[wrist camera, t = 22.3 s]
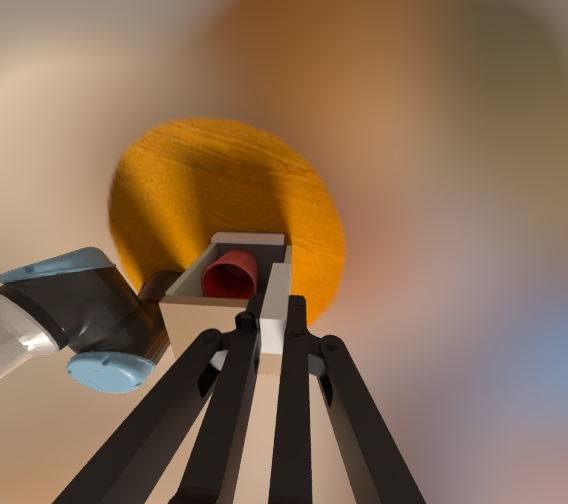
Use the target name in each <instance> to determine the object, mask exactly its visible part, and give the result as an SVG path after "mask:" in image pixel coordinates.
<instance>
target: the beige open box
mask: <svg viewBox="0 0 568 504" xmlns="http://www.w3.org/2000/svg"><path fill="white" fill-rule="evenodd" d="M219 258H220V256H219V248H218V243H211V244H210V245H209V246H208V248H207V249H206V250H205V251H204V252H203V253H202V254H201V255H200V256H199V257H198V258H197V259H196V260H195V261H194V262H193V263H192V265H191V266H190V267H189V268H188V269H187V270H186V271H185V272H184V273H183V274H182V275H181V276H180V277H179V278H178V279H177V280H176V282H175V283H174V284H173V285H172V286H171V287H170V288H169V289H168V290H167V291H166V292H165V294H166V296H165V297H164V298H163V299H162V300H161V301H160V302H159V306H160V309H161V312H162V316H163V319H164V322H165V326H166V329H167V332H168V336H169V339H170V342H171V346H172V349H173V352H174V356H175V359H176V360H177V359H178V358H179V357H180V356H181V355H182V354H183V352H184V351H185V350H186V349H187V348H188V347H189V346H190V344H191V343H192V342H193V341H194V340H195V339H196V337H197V336H198V335H199V334H200V333H201V332H202V331H204V330H206V329H210V328H216V329H218V330H220V332H221V333H225V332H230V331H233V330H235V329H236V325H235V316H236V315H237V314H238V313H240V312H242V311H245V310H246V308H247V304H248V302H249V300H245V299H226V298H207V297H206V296H205V294H204V292H203V290H202V286H201V279H202V275H203V273H204V272H205V270H206V269H207V268H208V267H209V266H210V265H211V264H213V263H214V262H215V261H217V260H218V259H219ZM284 263H288V264H291V271H292V245H287V247H286V253H285V260H284ZM290 295H291V291H290ZM281 363H282V354H271V353H261V351H260V364H259V369H258V374H272V375H280V374H281Z"/></svg>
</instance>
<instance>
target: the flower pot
mask: <svg viewBox="0 0 568 504" xmlns="http://www.w3.org/2000/svg"><path fill="white" fill-rule="evenodd" d="M201 286H202V290H203V292H204V294H205V296H206V297H207V298H226V299H245V300H249V299H250V297H251V296H252V295H253V294H256V291H257V261H256V259H255V257H254V255H253V254H252V253H250V252H249V251H247V250H245V249H233V250H231V251H229V252H227V253H226V254H224V255H223V256H222V257H220V258H219V259H218V260H217V261H215V262H214V263H213V264H211V265H210V266H209V267H208V268H207V269H206V270H205V272H204V273H203V275H202V279H201Z"/></svg>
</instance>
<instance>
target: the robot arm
mask: <svg viewBox="0 0 568 504" xmlns="http://www.w3.org/2000/svg"><path fill="white" fill-rule="evenodd" d="M181 275H182V274H181V273H178V272H174V271H160V272H157V273H155V274H153V275H152V276H151V277H150V278H148V279H147V280H146V281H145V282H144V284H143V285H142V287H141V290H140V292H139V293H138V295H136V294H135V292H134V291H133V290H132V288H131V287H130V286H129V284H128V283H127V282H126V280H125V279H124V277H123V276H122V275H121V273H120V272H119V271H118V269H117V268H116V265H115V264H114V263H112V262H111V261H110V260H109V258H108V257H107V256H106V255H105V254H104V252H103V251H101V250H100V249H98V248H95V247H86V248H82V249H79V250H76V251H73V252H69V253H66V254H63V255H60V256H57V257H53V258H50V259H47V260H43V261H40V262H37V263H34V264H31V265H28V266H24V267H21V268H18V269H15V270H11V271H8V272H5V273H2V274H0V283H2V284H4V285H2V286H1V287H0V378H2V377H4V376H5V375H6V374H8V373H9V372H11V371H12V370H14V369H15V368H17V367H18V366H19V365H21V364H22V363H24V362H25V361H26V360H28V359H29V358H31V357H34V356H38V355H46V354H47V355H48V354H55V353H57V352H59V351H60V350H61V349H63V348H64V347H65V346H67V345H68V346H69V347H70V348H71V349H72V350H73V351H74V352H75V353H76V355H75V356H73V357H72V358H71V359H70V361H69V363H68V365H67V369H68V373H69V375H70V376H71V377H72V378H73V379H75V380H76V381H77V382H79V383H81V384H82V385H84V386H86V387H89V388H91V389H94V390H98V391H102V392H107V393H126V392H130V391H133V390H135V389H137V388H138V387H140V385H142V384H143V383H144V381H145V380H146V379H147V377H148V376H149V375H150V374H151V372H152V371H154V370H155V367H156V364H157V363H158V362H159V360H160V359H161V357H162V356H163V354H164V353H165V351H166V350H167V348H168V347H169V345H170V344H171V342H170V339H169V336H168V332H167V329H166V326H165V322H164V319H163V316H162V312H161V309H160V306H159V302H160V301H161V300H162V299H163V298H164V297H165V296H166V294H165V292H166V291H167V290H168V289H169V288H170V287H171V286H172V285H173V284H174V283H175V282H176V280H177V279H178V278H179V277H180V276H181ZM290 291H291V264H288V263H273V266H272V270H271V274H270V278H269V282H268V286H267V290H266V294H253V295H252V296H251V297H250V299H249V302H248V304H247V308H246V310H245V311H242V312H240V313H238V314H237V315H236V316H235V325H236V329H235V330H233V331H230V332H225V333H221V332H220V330H218V329H216V328H210V329H206V330H204V331H202V332H201V333H200V334H199V335H198V336H197V337H196V339H195V340H194V341H193V342H192V343H191V344H190V346H189V347H188V348H187V349H186V350H185V351H184V352H183V354H182V355H181V356H180V357H179V358H178V359H177V360H176V362H175V363H174V364H173V365H172V366H171V367H170V369H169V370H168V371H167V372H166V373H165V374H164V375H163V377H162V378H161V379H160V380H159V381H158V382H157V384H156V385H155V386H154V387H153V388H152V389H151V390H150V391H149V393H148V394H147V395H146V396H145V397H144V398H143V400H142V401H141V402H140V403H139V404H138V405H137V407H136V408H135V409H134V410H133V411H132V412H131V413H130V414H129V416H128V417H127V418H126V419H125V420H124V421H123V422H122V424H121V425H120V426H119V427H118V428H117V430H115V432H114V433H113V434H112V435H111V436H110V437H109V439H108V440H107V441H106V442H105V443H104V444H103V445H102V447H101V448H100V449H99V450H98V451H97V452H96V454H95V455H94V456H93V457H92V458H91V459H90V461H88V463H87V464H86V465H85V466H84V467H83V468H82V470H81V471H80V472H79V473H78V474H77V475H76V476H75V478H74V479H73V480H72V481H71V482H70V483H69V485H68V486H67V487H66V488H65V489H64V490H63V491H62V493H61V494H60V495H59V496H58V497H57V498H56V499H55V501H54V502H53V503H52V504H144V503H145V502H146V500H147V498H148V497H149V495H150V494H151V492H152V490H153V489H154V487H155V485H156V484H157V482H158V480H159V479H160V477H161V475H162V474H163V472H164V471H165V469H166V467H167V466H168V464H169V463H170V461H171V459H172V458H173V456H174V454H175V453H176V451H177V449H178V448H179V446H180V444H181V443H182V441H183V440H184V438H185V436H186V435H187V433H188V431H189V430H190V428H191V426H192V425H193V423H194V421H195V420H196V418H197V417H198V415H199V413H200V411H201V410H202V408H203V407H204V405H205V404H206V402H207V400H208V399H209V397H210V395H211V394H212V392H213V394H212V396H211V399H210V402H209V405H208V408H207V410H206V413H205V416H204V419H203V422H202V425H201V427H200V430H199V433H198V436H197V438H196V441H195V444H194V447H193V449H192V452H191V455H190V458H189V461H188V463H187V466H186V469H185V472H184V475H183V477H182V480H181V483H180V486H179V488H178V490H177V492H176V494H175V495H174V496H173V497H172V498H171V499H170V500H169V502H168V504H233V499H234V494H235V489H236V484H237V478H238V473H239V468H240V462H241V457H242V452H243V447H244V442H245V436H246V431H247V426H248V421H249V416H250V410H251V405H252V400H253V395H254V390H255V384H256V379H257V374H258V369H259V364H260V351H261V353H271V354H282V363H281V374H280V384H279V395H278V406H277V415H276V427H275V437H274V447H273V457H272V469H271V479H270V488H269V498H268V504H312V474H311V473H312V470H311V437H310V401H309V373H310V374H312V375H315V376H317V380H318V383H319V386H320V389H321V393H322V396H323V399H324V402H325V405H326V408H327V412H328V415H329V418H330V421H331V424H332V427H333V431H334V434H335V437H336V440H337V443H338V446H339V449H340V453H341V456H342V459H343V462H344V465H345V468H346V471H347V475H348V478H349V481H350V484H351V487H352V490H353V493H354V497H355V500H356V503H357V504H426V503H425V501H424V498H423V496H422V495H421V493H420V491H419V489H418V487H417V485H416V483H415V481H414V479H413V477H412V475H411V473H410V471H409V469H408V467H407V465H406V463H405V461H404V460H403V458H402V455H401V454H400V452H399V450H398V448H397V446H396V444H395V442H394V440H393V438H392V436H391V434H390V432H389V430H388V428H387V426H386V424H385V422H384V420H383V418H382V416H381V414H380V413H379V410H378V409H377V407H376V405H375V403H374V401H373V399H372V397H371V395H370V393H369V391H368V389H367V387H366V385H365V383H364V381H363V379H362V377H361V375H360V373H359V372H358V369H357V368H356V366H355V364H354V362H353V360H352V358H351V356H350V354H349V352H348V350H347V348H346V346H345V344H344V342H343V341H342V340H341V339H340V338H338V337H337V336H334V335H326V336H324V337H322V338H319V337H316V336H314V335H312V334H311V333H310V332H309V331H308V329H307V321H306V300H305V298H304V297H303V296H299V295H290ZM213 390H214V391H213Z"/></svg>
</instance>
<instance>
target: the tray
mask: <svg viewBox="0 0 568 504" xmlns="http://www.w3.org/2000/svg"><path fill="white" fill-rule="evenodd" d="M211 243H218V245H219V253H220V257H222V256H223V255H224V254H226V253H227V252H229V251H231V250H233V249H245V250H247V251H249V252H250V253H252V254H253V255H254V257H255V259H256V261H257V291H256V294H266V290H267V286H268V282H269V278H270V274H271V270H272V266H273V263H284V244H285V233H267V232H237V231H218V232H217V233H216V234H215V235H214V236H213V237H212V238H211Z"/></svg>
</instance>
